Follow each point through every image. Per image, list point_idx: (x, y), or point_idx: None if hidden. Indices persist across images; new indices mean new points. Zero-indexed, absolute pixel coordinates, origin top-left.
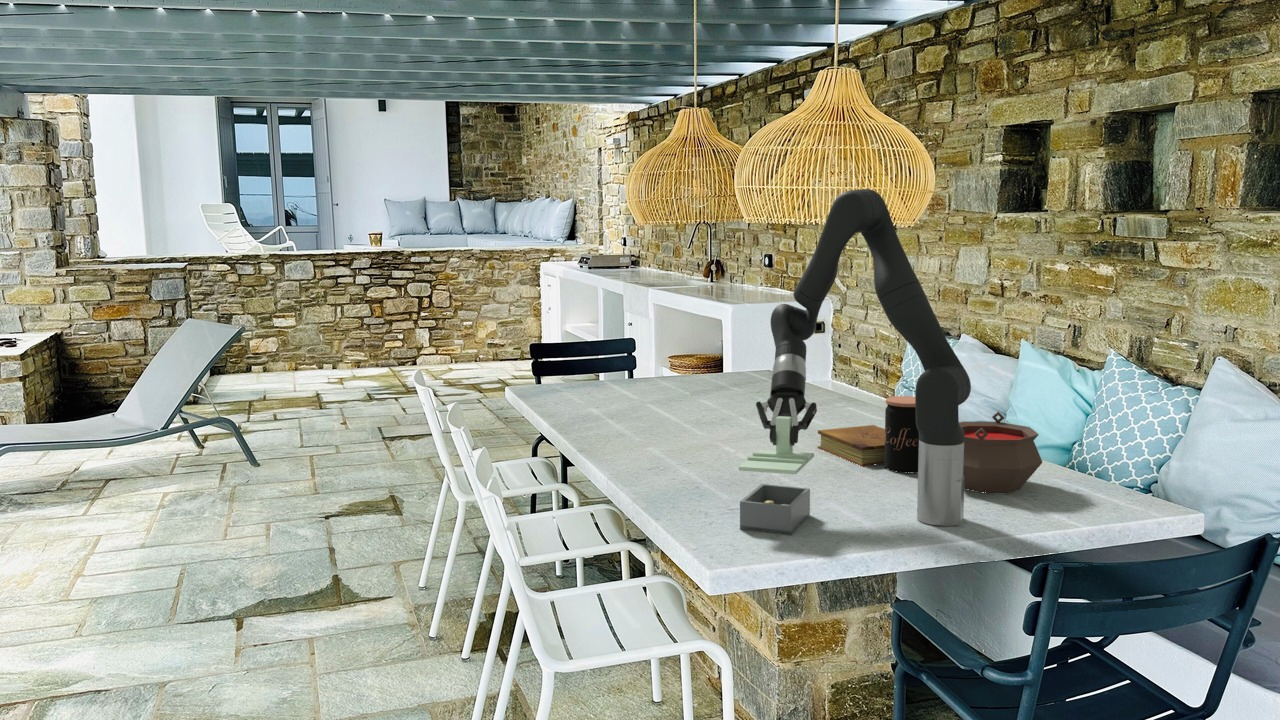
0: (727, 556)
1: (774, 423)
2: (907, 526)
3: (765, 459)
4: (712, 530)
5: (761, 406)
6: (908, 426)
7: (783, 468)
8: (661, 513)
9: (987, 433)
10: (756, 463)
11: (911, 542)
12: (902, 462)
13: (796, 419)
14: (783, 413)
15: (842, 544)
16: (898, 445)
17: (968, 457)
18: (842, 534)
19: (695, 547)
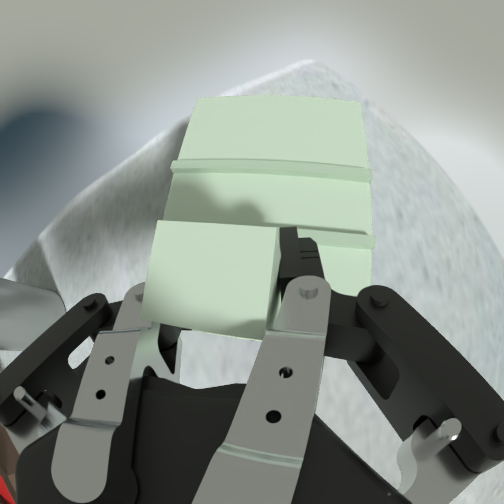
0: (315, 89)
1: (297, 288)
2: (78, 282)
3: (304, 165)
4: (381, 177)
5: (469, 415)
6: None
7: (230, 104)
8: (483, 252)
9: (8, 502)
10: (324, 136)
11: (84, 211)
12: None
13: (124, 317)
14: (217, 389)
15: (163, 170)
16: None
17: (3, 442)
18: (160, 215)
19: (369, 108)
